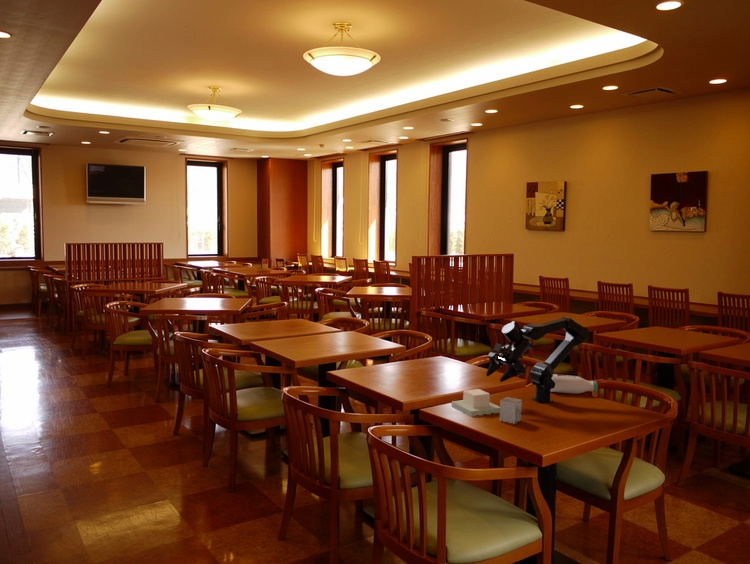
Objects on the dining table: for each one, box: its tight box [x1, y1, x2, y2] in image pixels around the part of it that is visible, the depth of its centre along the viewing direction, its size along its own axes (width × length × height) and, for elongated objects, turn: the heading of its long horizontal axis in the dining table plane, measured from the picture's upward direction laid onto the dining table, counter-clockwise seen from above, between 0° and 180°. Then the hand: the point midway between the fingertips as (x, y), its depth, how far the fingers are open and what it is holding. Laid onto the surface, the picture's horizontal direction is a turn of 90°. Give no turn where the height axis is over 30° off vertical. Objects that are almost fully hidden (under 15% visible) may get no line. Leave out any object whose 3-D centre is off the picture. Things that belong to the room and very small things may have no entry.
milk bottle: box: [550, 373, 599, 395], centre depth 269 cm, size 8×8×20 cm
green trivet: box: [451, 399, 500, 417], centre depth 242 cm, size 14×14×2 cm
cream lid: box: [462, 388, 491, 408], centre depth 241 cm, size 7×7×5 cm
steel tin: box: [498, 396, 523, 425], centre depth 228 cm, size 6×6×8 cm
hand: (493, 378), depth 244 cm, fingers open, 9 cm apart
